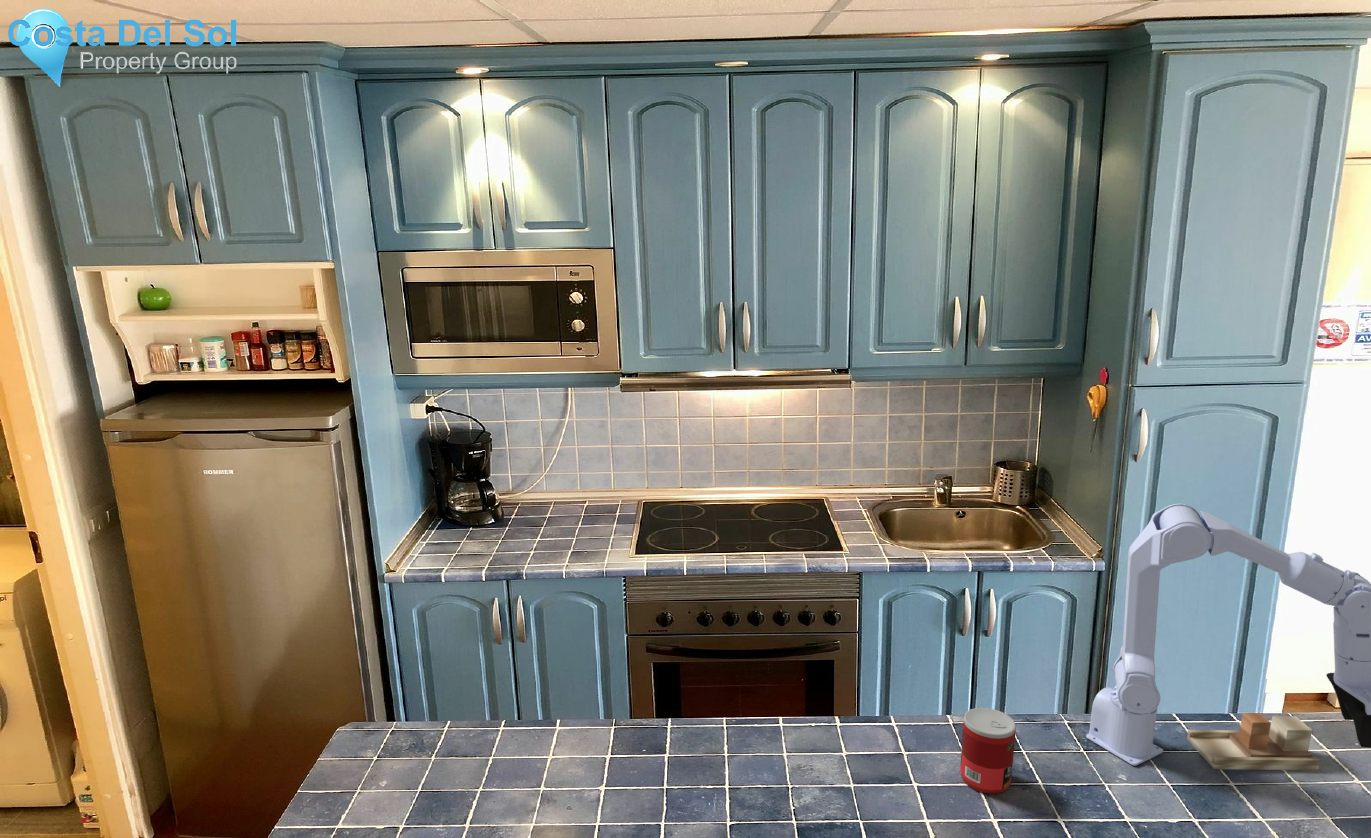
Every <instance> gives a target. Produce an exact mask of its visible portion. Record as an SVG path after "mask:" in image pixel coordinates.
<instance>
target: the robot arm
mask: <svg viewBox="0 0 1371 838" xmlns="http://www.w3.org/2000/svg"><path fill="white" fill-rule="evenodd" d="M1200 513H1201V514H1200ZM1207 552H1208V553H1209V556H1210V557H1213V556H1217V555H1221V554H1223V553H1224V554H1225V553H1227V552H1229V553H1232V554H1234V555H1236V556H1239V557H1241V558H1243V559H1246V560H1248V561H1250V562H1253V563H1255V564H1257V565H1260V566H1262V567H1264V568H1267V569H1269V570H1271V571H1273V572H1276V573H1277V574H1278V575H1279V579H1280V582H1281V583H1282V584H1283V585H1285V586H1287V587H1289V588H1291V589H1293V590H1295V591H1297V592H1299V593H1302V594H1304V595H1305V596H1308V597H1310V598H1311V599H1314V600H1316V601H1318V602H1320V603H1323V604H1324V605H1327V606H1331V607H1332V606H1333V623H1332V624H1333V625H1332V627H1333V650H1334V651H1333V654H1334V672H1328V673H1326V678H1327V680H1328V681H1329V682H1330V683H1331V685H1332V687H1333V690H1334V692H1335V695H1336V698H1337V702H1338V704H1339V705H1338V706H1339V709H1340V712H1341V715H1342V718H1343V719H1344V720H1346V721H1352V722H1353V725H1354V728H1355V734H1356V738H1357V742H1358V744H1359V746H1360V747H1361V748H1370V749H1371V582H1370V581H1369V580H1368V579H1366V578H1365V577H1364V576H1362V575H1361V574H1360V573H1358V572H1354V571H1351V570H1349V569H1346V570H1345V571H1344V570H1342V569H1340V568H1337V567H1335V566H1333V565H1331V564H1330V563H1327V562H1325V561H1324V559H1323V557H1322V555H1319V554H1317V553H1315V552H1312V553H1310V554H1308V553H1305V552H1302V551H1296V552H1291V553H1286V552H1285V551H1284V550H1283V551H1282V550H1281V549H1279V548H1277V547H1275V546H1273V545H1271V544H1269V543H1268V542H1265V541H1264V540H1262V539H1260V538H1258V537H1256V536H1254V535H1252V534H1251V533H1248V532H1246V531H1244V530H1242V529H1241V528H1239V527H1236V525H1235V526H1234V525H1233V524H1231V523H1230V522H1227V521H1226V520H1223V519H1221V518H1220V517H1217V516H1215V515H1214V514H1211V513H1209V512H1207V511H1203V510H1200V512H1198V511H1197V509H1195V508H1194V507H1193V506H1191V505H1188V504H1187V503H1186V504H1184V503H1174V504H1169V505H1167V506H1165V507H1164V508H1162V509H1160V510H1158V511H1156V512H1155V513H1153V514H1152V516H1151V518H1150V520H1149V522H1148V524H1147V525H1146V526H1145V527H1144V529H1143V530H1142V531H1141V532H1140V533H1139V535H1138V536H1137V537H1136V538H1135V540H1134V541H1133V542H1132V543H1131V545H1130V546H1129V548H1128V554H1127V568H1126V569H1127V570H1126V583H1125V584H1126V585H1125V586H1126V587H1125V600H1124V601H1125V602H1124V603H1125V605H1124V618H1123V619H1124V621H1123V634H1122V635H1123V636H1122V645H1121V646H1120V649H1119V650H1120V652H1119V655H1118V658H1117V659H1116V661H1115V662H1114V664H1113V667H1112V671H1113V676H1114V679H1115V686H1114V687H1104V688H1102V689H1101V690H1100V691H1098V693H1097V694H1096V695H1095V697H1094V700H1093V702H1092V706H1091V713H1090V714H1091V715H1090V722H1089V723H1090V724H1089V733H1087V734H1086V735H1085V737H1086V739H1088V740H1090V741H1091V742H1093V743H1095V744H1096V745H1099V747H1101V748H1103V749H1105V750H1106V751H1108V752H1110V753H1112V755H1115V756H1116V757H1118V758H1120V759H1121V760H1122V761H1125V762H1126V763H1128V764H1129V765H1131V766H1133V767H1134V766H1135V767H1136V766H1138V765H1140V764H1143V763H1144V762H1146V761H1148V760H1150V759H1152V758H1155V757H1157V756H1160V755H1161V754H1163V753H1164V749H1163V748H1161V747H1160V746H1158V745H1156V744H1155V743H1154V735H1155V729H1156V728H1155V727H1156V720H1157V714H1158V707H1159V705H1160V702H1161V693H1160V691H1159V689H1158V686H1157V684H1156V683H1157V682H1156V666H1155V653H1156V652H1155V650H1156V635H1157V623H1158V622H1157V621H1158V608H1159V607H1158V605H1159V590H1160V580H1161V579H1160V577H1161V576H1160V575H1161V570H1162V569H1164V568H1166V567H1168V566H1170V565H1173V564H1177V563H1182V562H1186V561H1191V560H1195V559H1198V558H1201V557H1202V556H1204V555H1205V554H1206V553H1207Z"/></svg>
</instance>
